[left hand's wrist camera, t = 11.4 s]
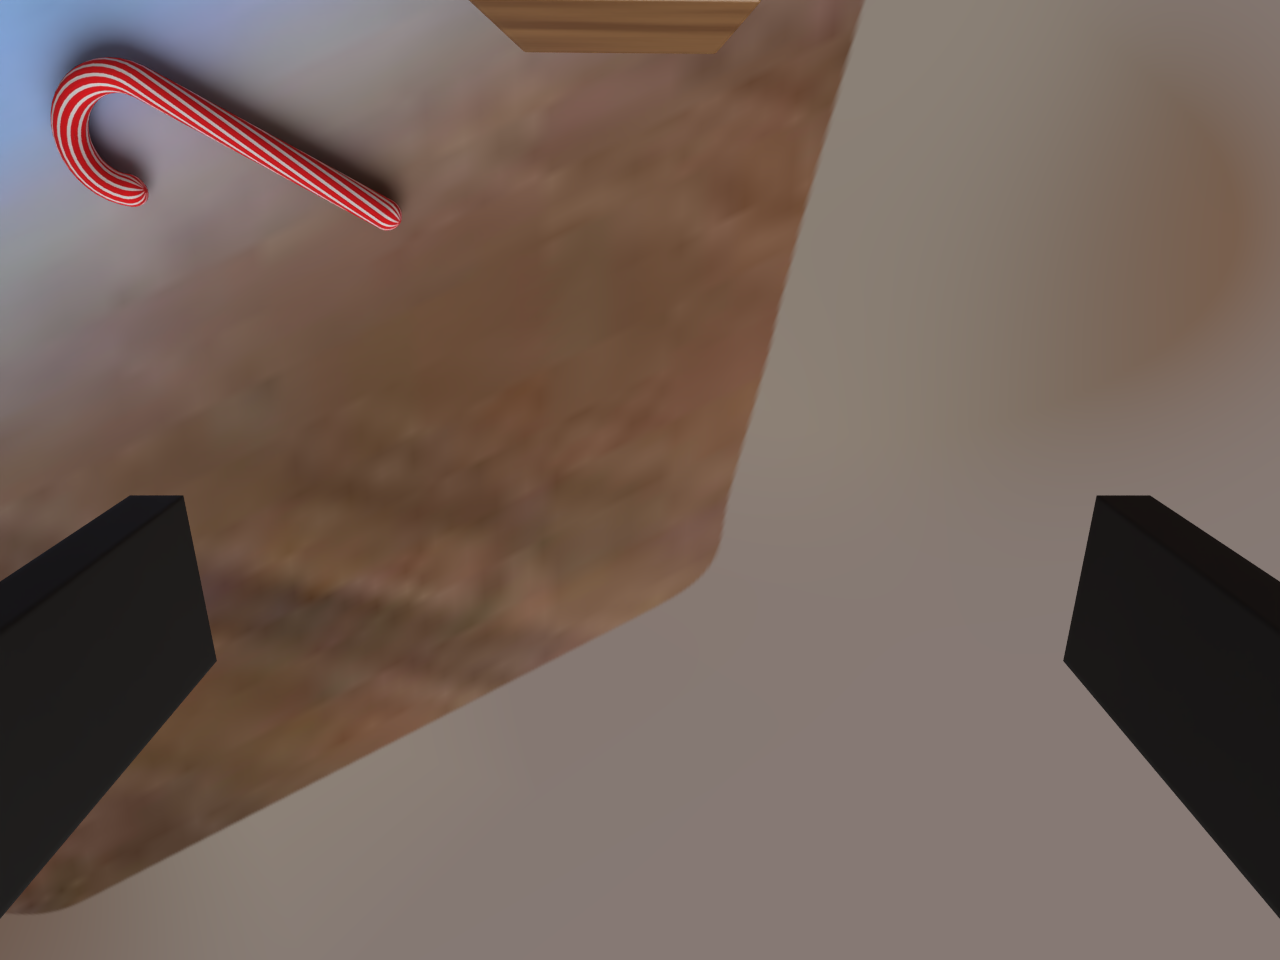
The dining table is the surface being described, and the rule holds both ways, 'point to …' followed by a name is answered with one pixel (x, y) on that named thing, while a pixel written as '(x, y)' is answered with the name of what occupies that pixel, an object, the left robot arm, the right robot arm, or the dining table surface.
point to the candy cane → (201, 115)
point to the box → (618, 24)
